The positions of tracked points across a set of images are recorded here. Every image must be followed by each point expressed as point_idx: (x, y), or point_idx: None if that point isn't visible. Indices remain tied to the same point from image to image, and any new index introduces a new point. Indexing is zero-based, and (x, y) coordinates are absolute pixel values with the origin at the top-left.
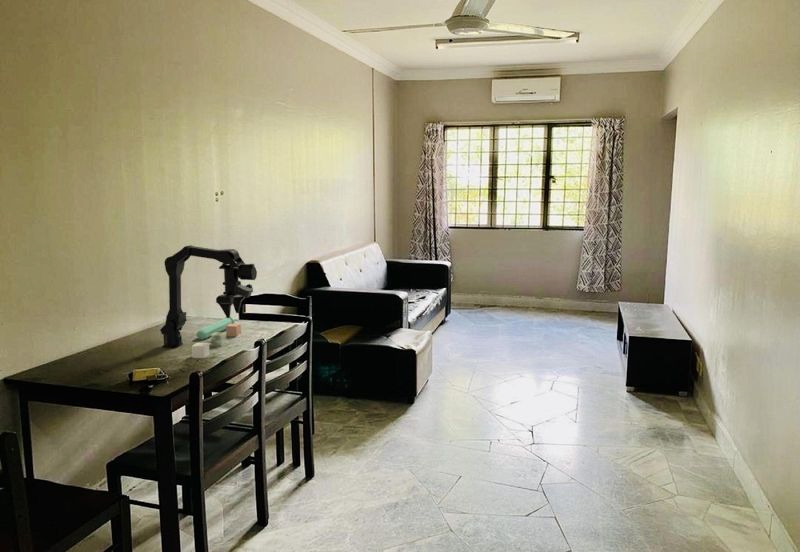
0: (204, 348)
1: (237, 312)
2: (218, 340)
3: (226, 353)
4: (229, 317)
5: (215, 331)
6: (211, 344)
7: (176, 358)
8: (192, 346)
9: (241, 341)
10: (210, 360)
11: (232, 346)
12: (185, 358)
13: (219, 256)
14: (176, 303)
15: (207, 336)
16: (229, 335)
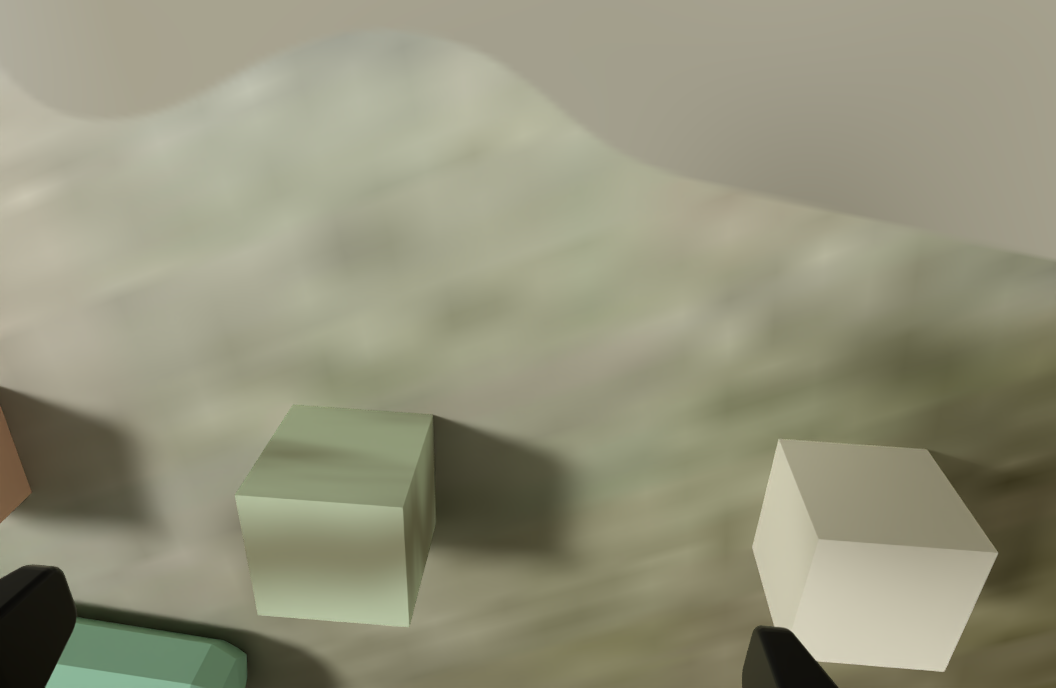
0: (946, 523)
1: (53, 600)
2: (418, 495)
3: (735, 262)
4: (795, 637)
5: None
6: (433, 530)
7: None
8: (946, 659)
9: (156, 258)
10: (1045, 350)
11: (407, 294)
12: None
13: None
14: None
15: (190, 643)
16: (12, 469)
